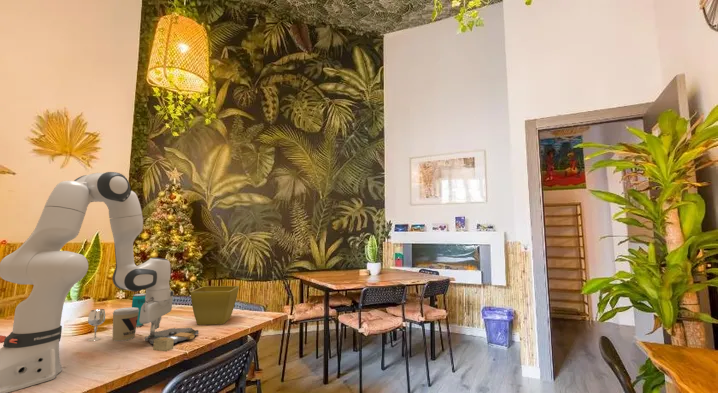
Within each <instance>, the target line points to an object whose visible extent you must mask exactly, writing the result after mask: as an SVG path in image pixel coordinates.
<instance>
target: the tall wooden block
mask: <svg viewBox="0 0 718 393" xmlns="http://www.w3.org/2000/svg"><path fill="white" fill-rule="evenodd" d="M174 344H175V343H174V338H167V337H160V338H157V339H154V344H152V345H153V346H152V350H153V351H159V352H167V351H170V350H173V349H174Z"/></svg>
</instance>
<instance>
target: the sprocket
mask: <svg viewBox="0 0 718 393" xmlns="http://www.w3.org/2000/svg"><path fill="white" fill-rule="evenodd" d="M196 335H199V330H198V329H196V330H195V329H193V327H179V328H176V327H171V328H167V329H163V330H158V331H157V330H156V329H155V324H151V323H150V331H149V335H148V336H147V335H146V336H144V341H145V342H147V341H148V342H149V343H150V344H151V345H154V339H157V338H160V337H167V338H174V343H173V344H177V343H178V342H182V341H187V340H192V339H194V338H195V336H196Z"/></svg>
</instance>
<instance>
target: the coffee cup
mask: <svg viewBox="0 0 718 393" xmlns="http://www.w3.org/2000/svg"><path fill="white" fill-rule="evenodd" d="M138 313H139V309H138V308H135V307H132V306H131V307H123V308H121V307H120V308H118V309H115V310H113V312H112V315H113V316H112V341H114V342H123V341H124V342H125V341H128V340H132V339H134V338H135V335H136V331H137V327H136V325H137V319H138Z"/></svg>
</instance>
